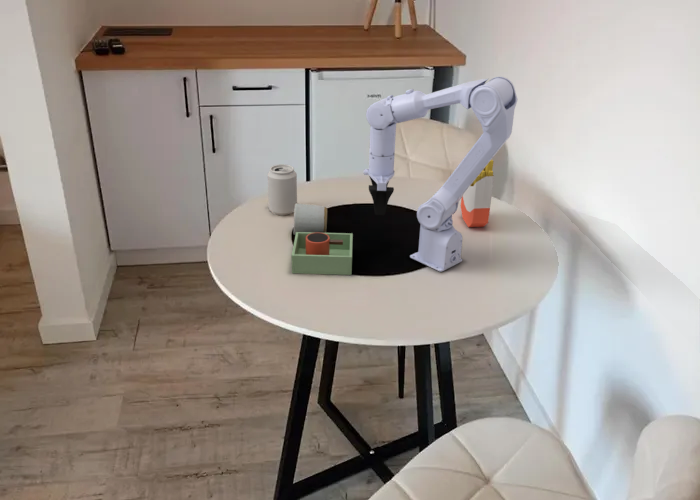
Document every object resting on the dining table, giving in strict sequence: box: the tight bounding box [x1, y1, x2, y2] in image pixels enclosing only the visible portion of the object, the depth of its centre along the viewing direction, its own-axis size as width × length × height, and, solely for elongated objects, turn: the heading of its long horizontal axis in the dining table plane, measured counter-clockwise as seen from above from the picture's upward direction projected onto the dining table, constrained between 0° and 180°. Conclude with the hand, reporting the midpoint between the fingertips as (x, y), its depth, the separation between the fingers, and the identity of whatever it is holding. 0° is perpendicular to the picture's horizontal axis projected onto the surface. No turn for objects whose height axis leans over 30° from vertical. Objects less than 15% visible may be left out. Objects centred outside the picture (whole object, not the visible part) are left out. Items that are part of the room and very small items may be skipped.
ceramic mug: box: [293, 203, 328, 236], centre depth 167 cm, size 11×8×8 cm
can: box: [267, 164, 298, 216], centre depth 177 cm, size 8×8×12 cm
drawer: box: [291, 232, 354, 276], centre depth 154 cm, size 13×12×4 cm
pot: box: [306, 232, 343, 255], centre depth 154 cm, size 8×5×6 cm, turn 89°
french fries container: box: [460, 159, 495, 228], centre depth 172 cm, size 5×11×18 cm, turn 7°
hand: (379, 207), depth 160 cm, fingers open, 7 cm apart
